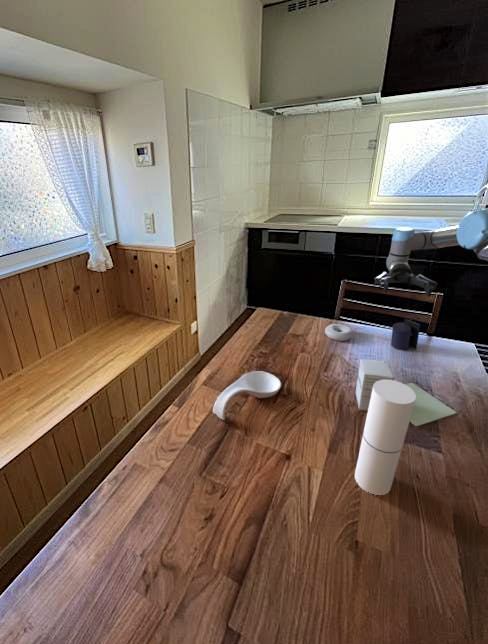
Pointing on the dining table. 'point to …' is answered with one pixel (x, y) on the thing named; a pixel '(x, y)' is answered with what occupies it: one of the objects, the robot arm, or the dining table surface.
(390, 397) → the cylindrical container
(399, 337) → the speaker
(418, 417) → the felt mat
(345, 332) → the donut
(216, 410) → the spoon rest
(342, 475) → the dining table surface
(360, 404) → the white packaging box
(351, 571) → the dining table surface
